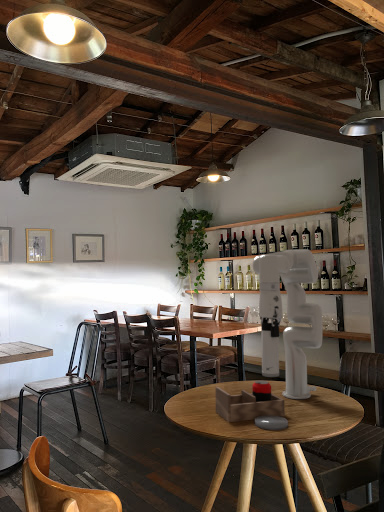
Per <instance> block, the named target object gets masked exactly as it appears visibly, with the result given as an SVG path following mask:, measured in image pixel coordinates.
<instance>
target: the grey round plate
mask: <svg viewBox="0 0 384 512" xmlns="http://www.w3.org/2000/svg"><path fill="white" fill-rule="evenodd" d="M254 425H255V426H256V427H257V428H259V429H263V430H268V431H280V430H281V431H282V430H284V429H286V428H288V426H289V421H288V419H286V418H285V417H284V416H274V415H263V416H258V417H256V418H255V419H254Z"/></svg>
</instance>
